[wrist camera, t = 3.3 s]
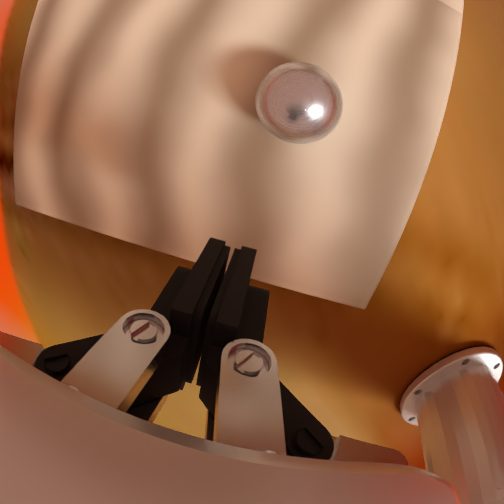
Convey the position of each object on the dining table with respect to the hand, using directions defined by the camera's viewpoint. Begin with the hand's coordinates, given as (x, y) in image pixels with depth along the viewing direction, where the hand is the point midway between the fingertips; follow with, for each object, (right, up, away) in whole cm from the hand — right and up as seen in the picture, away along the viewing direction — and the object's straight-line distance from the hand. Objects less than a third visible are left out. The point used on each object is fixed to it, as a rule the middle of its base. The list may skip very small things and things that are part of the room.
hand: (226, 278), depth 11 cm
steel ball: (+3, +8, +2) cm, 8 cm away
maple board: (-2, +15, +2) cm, 16 cm away
